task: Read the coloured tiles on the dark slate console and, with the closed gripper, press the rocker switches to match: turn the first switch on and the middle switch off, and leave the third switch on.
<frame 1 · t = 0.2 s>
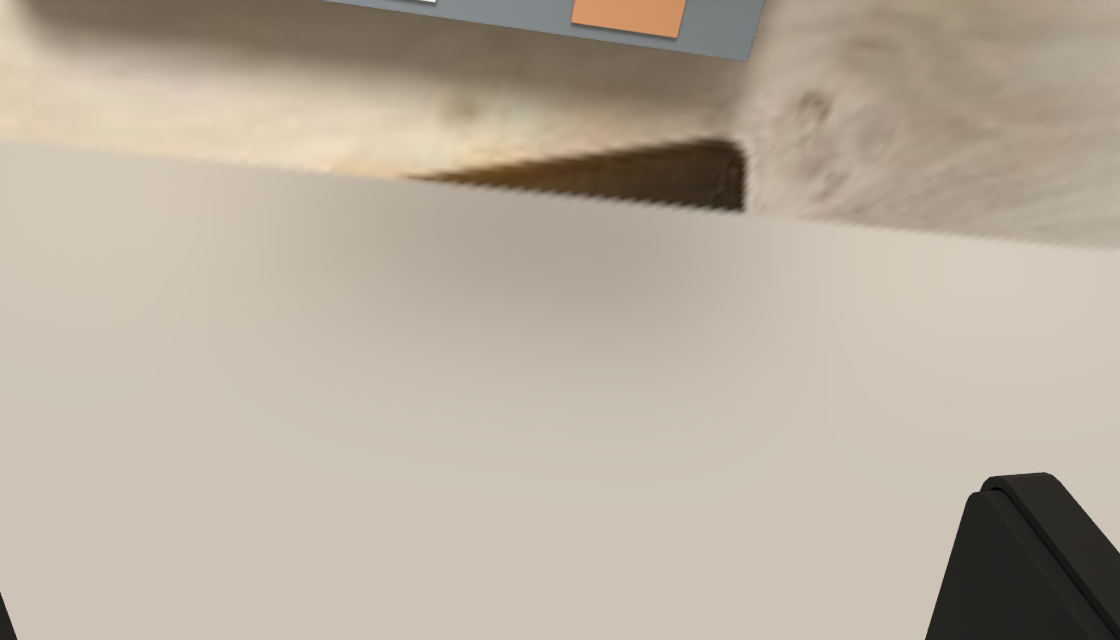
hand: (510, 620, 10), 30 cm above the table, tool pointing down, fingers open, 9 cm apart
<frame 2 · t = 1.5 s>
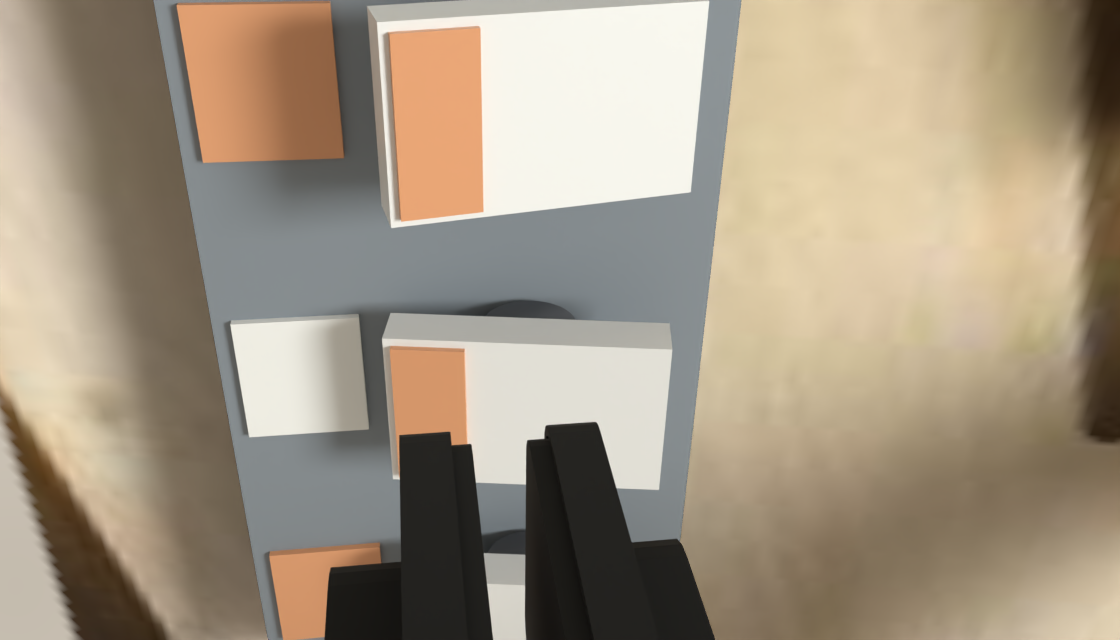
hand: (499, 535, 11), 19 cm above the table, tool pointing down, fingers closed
switch 2: (528, 391, 27), point 5 cm above the table, hinge at 10.0°
switch 3: (526, 610, 31), point 5 cm above the table, hinge at 10.0°
switch 1: (533, 97, 23), point 5 cm above the table, hinge at -10.0°
console: (460, 291, 32), on the table
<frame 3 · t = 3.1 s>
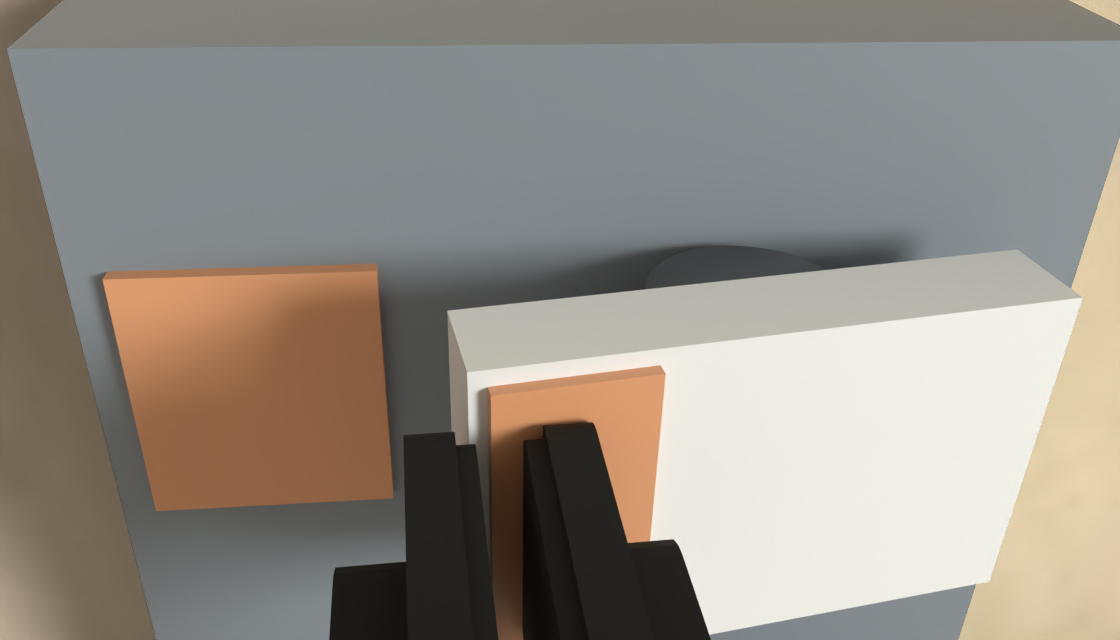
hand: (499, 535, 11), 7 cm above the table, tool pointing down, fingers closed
switch 1: (732, 435, 13), point 5 cm above the table, hinge at -8.1°, touching gripper
console: (552, 585, 22), on the table
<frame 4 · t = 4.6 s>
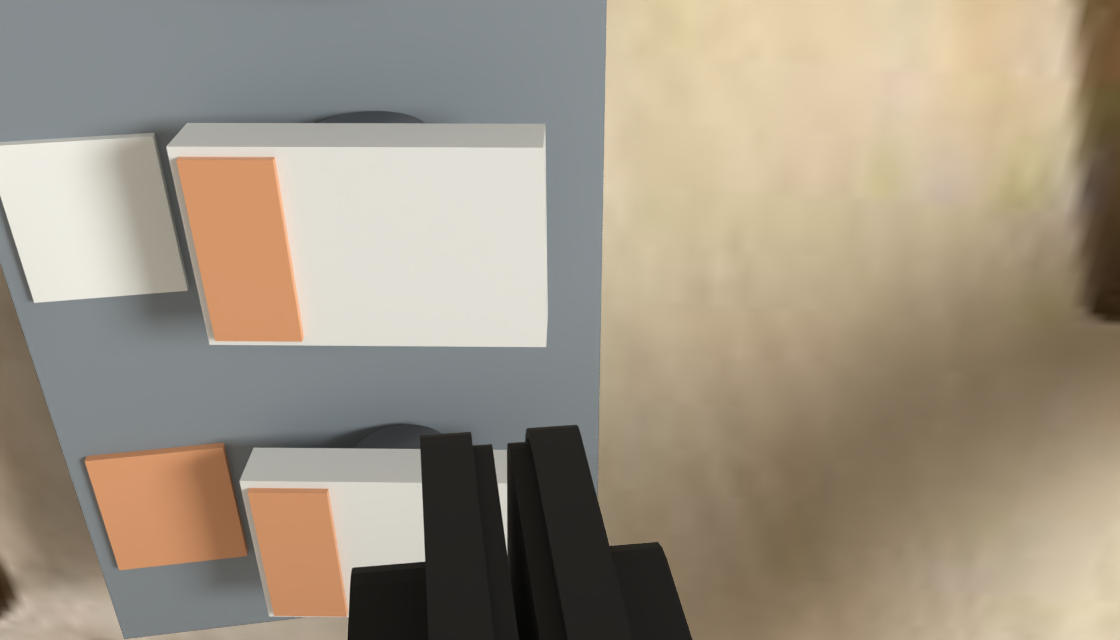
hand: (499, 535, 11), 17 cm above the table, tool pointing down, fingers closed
switch 2: (376, 226, 21), point 5 cm above the table, hinge at 10.0°
switch 3: (408, 520, 26), point 5 cm above the table, hinge at 10.0°
console: (315, 134, 26), on the table
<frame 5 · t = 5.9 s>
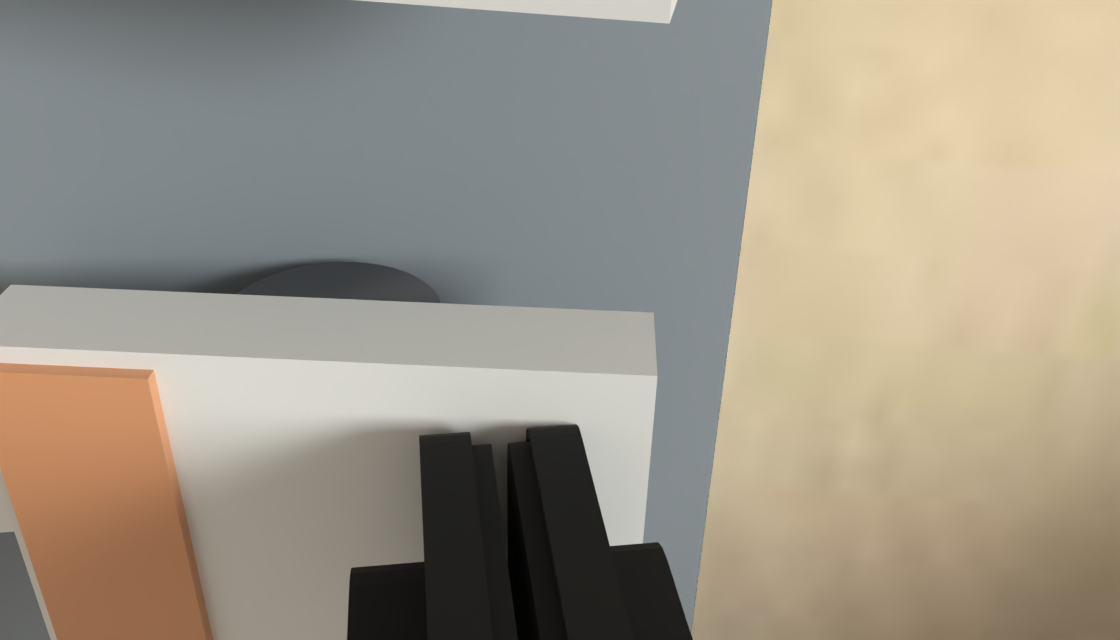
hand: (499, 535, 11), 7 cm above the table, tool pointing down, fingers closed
switch 2: (345, 461, 12), point 5 cm above the table, hinge at 10.0°, touching gripper
console: (268, 254, 17), on the table
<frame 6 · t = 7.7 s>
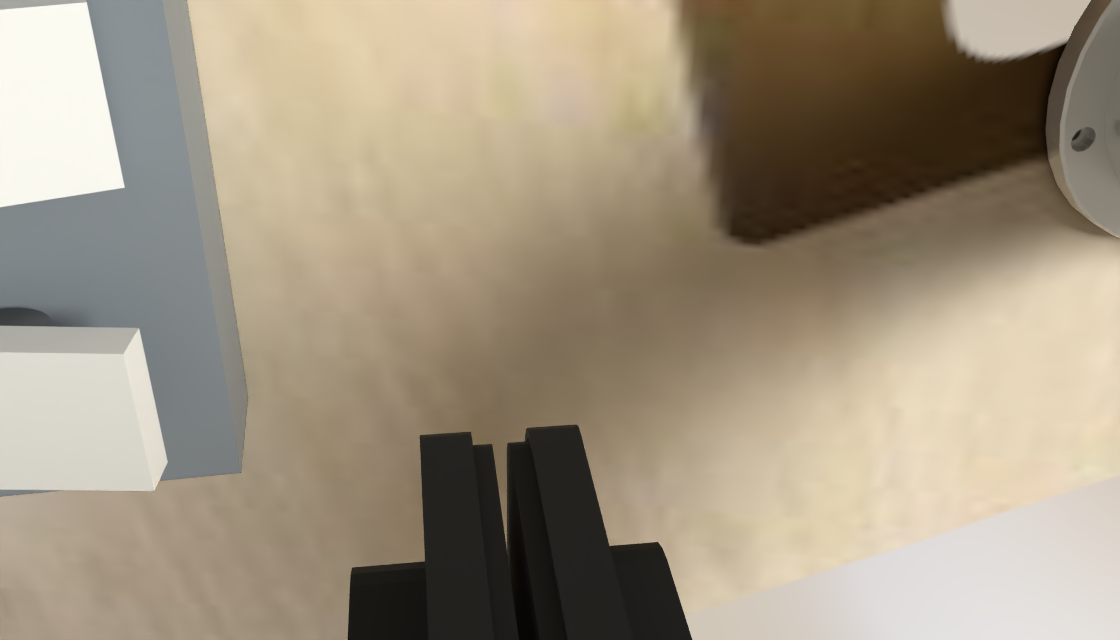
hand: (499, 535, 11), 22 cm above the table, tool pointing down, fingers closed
switch 3: (18, 397, 27), point 5 cm above the table, hinge at 10.0°
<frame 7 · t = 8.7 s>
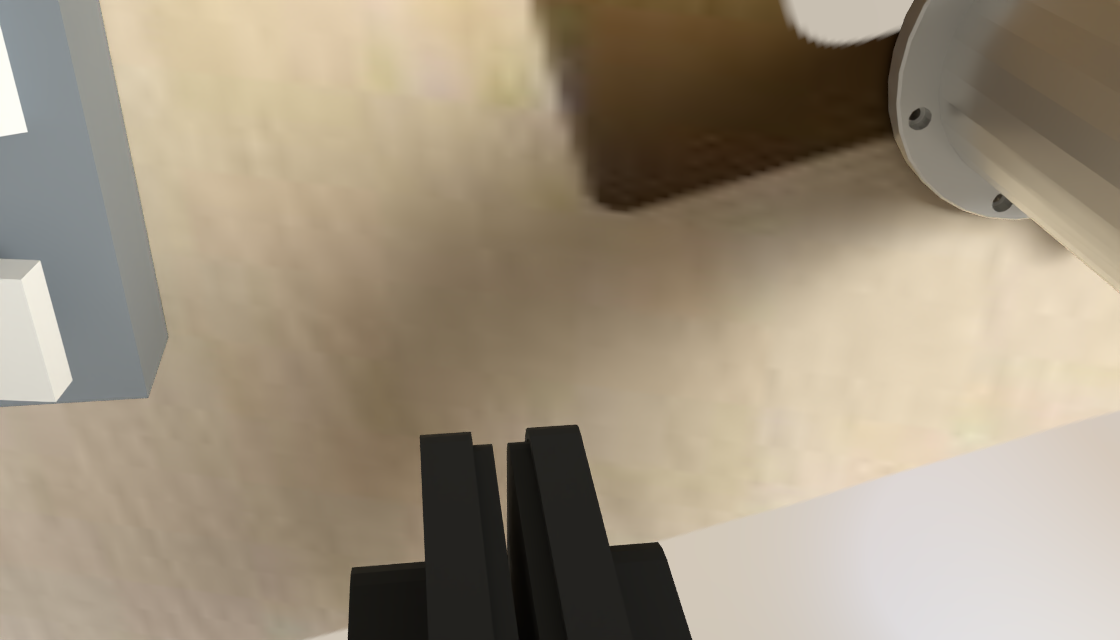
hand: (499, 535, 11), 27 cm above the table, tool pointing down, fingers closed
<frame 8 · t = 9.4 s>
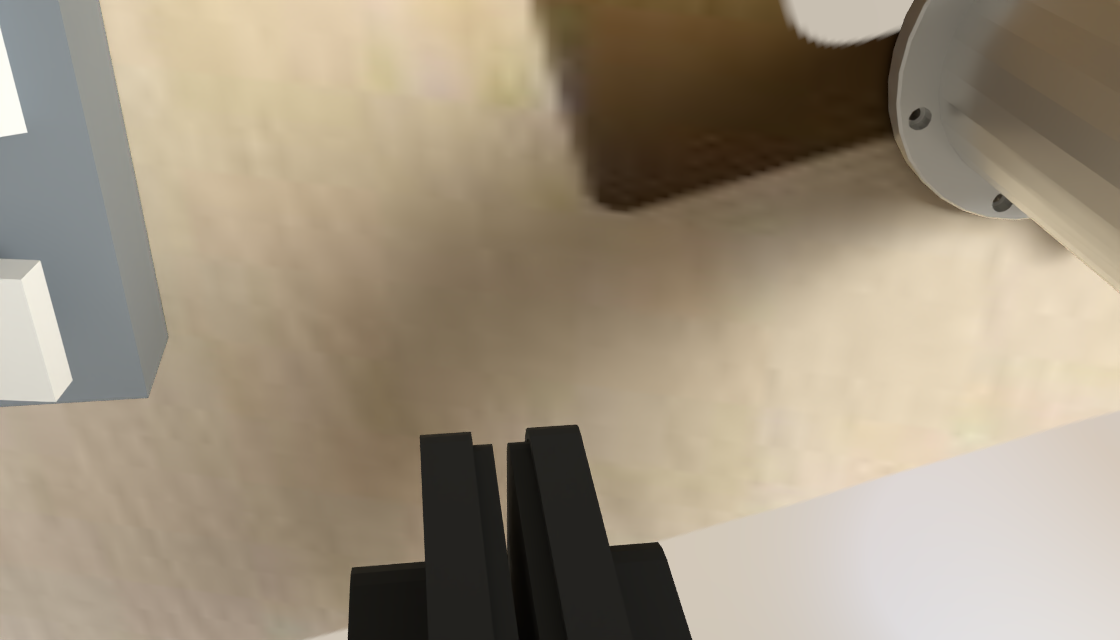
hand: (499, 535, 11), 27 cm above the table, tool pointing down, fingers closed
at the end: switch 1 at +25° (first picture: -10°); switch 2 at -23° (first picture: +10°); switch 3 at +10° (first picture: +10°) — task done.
